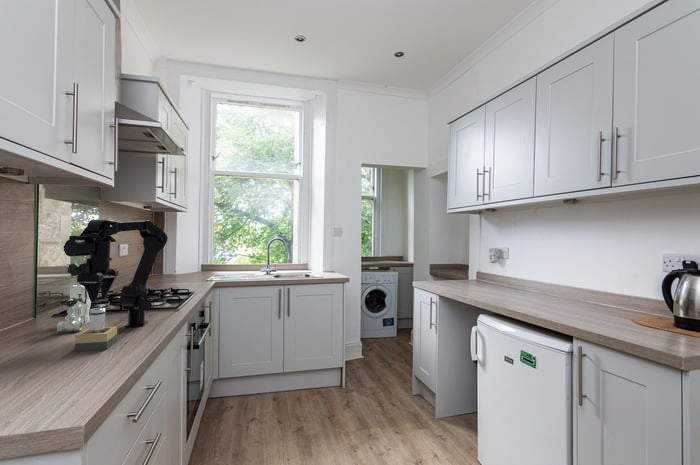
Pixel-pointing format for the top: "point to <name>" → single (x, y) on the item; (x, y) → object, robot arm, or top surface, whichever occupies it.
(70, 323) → the valve
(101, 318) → the metal tumbler
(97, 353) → the top surface
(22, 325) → the top surface
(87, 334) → the collar block
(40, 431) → the top surface
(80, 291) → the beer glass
